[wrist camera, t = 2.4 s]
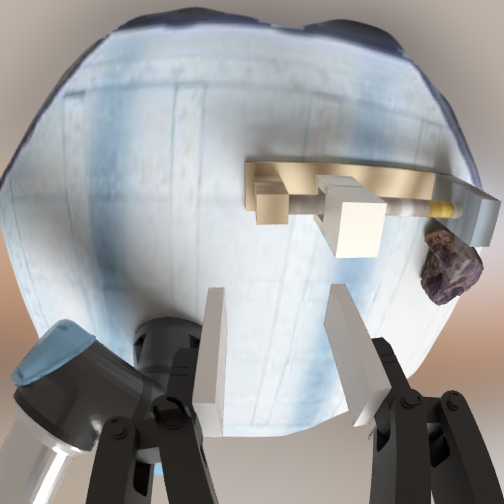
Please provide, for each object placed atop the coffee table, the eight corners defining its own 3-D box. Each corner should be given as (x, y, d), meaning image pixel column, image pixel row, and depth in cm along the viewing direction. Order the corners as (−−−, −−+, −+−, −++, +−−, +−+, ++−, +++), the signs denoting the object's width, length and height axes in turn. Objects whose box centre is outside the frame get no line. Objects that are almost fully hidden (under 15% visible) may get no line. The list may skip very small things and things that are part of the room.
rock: (407, 277, 44) (450, 273, 43) (426, 315, 37) (471, 307, 37) (427, 217, 36) (473, 218, 36) (456, 253, 30) (502, 251, 29)
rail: (245, 209, 36) (246, 250, 26) (245, 161, 33) (245, 186, 24) (445, 212, 37) (489, 246, 27) (452, 175, 34) (501, 201, 24)
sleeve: (313, 218, 32) (335, 258, 24) (316, 174, 30) (342, 202, 22) (346, 218, 32) (377, 256, 24) (351, 176, 30) (387, 203, 22)
